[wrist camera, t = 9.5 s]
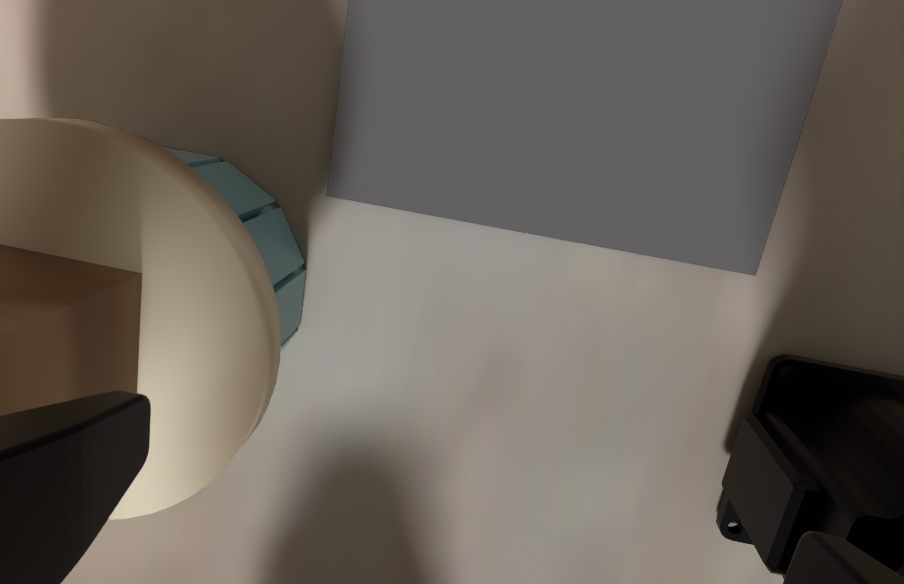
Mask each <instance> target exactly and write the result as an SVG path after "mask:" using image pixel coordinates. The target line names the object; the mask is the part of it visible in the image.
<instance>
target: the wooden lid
mask: <svg viewBox="0 0 904 584" xmlns="http://www.w3.org/2000/svg"><path fill="white" fill-rule="evenodd" d="M280 347H281V332H280V321H279V311H278V307H277V302H276V298H275V293H274V289H273V285H272V282H271V280H270V277H269V274H268V271H267V269H266V266H265V263H264V260H263V258H262V256H261V254H260V252H259V250H258V248H257V247H256V245H255V243H254V241H253V239H252V237H251V235H250V233H249V232H248V230H247V229H246V227H245V226H244V224H243V223H242V221H241V220H240V218H239V217H238V215H237V214H236V212H235V211H234V210H233V209H232V208H231V206H230V205H229V204H228V203H227V202H226V201H225V199H224V198H223V197H222V196H221V195H220V194H219V192H218V191H217V190H216V189H215V188H214V187H213V186H212V185H211V184H210V183H208V182H207V181H206V180H205V179H204V178H203V177H202V176H201V175H200V174H199V173H198V172H197V171H196V170H194V169H193V168H192V167H190V166H189V165H187V164H186V163H185V162H183V161H182V160H181V159H179V158H178V157H176V156H175V155H174V154H172V153H171V152H169V151H167V150H165V149H164V148H162V147H160V146H158V145H157V144H155V143H153V142H151V141H149V140H148V139H145V138H143V137H141V136H138V135H136V134H133V133H131V132H128V131H126V130H123V129H121V128H117V127H114V126H110V125H106V124H102V123H99V122H95V121H88V120H80V119H72V118H31V119H0V416H1V415H5V414H10V413H14V412H19V411H24V410H28V409H33V408H37V407H42V406H46V405H51V404H55V403H60V402H64V401H69V400H73V399H78V398H83V397H87V396H92V395H96V394H101V393H105V392H110V391H114V390H124V391H129V392H134V393H139V394H143V395H146V396H147V397H148V399H149V400H150V404H151V418H150V444H149V453H148V456H147V459H146V462H145V464H144V466H143V467H142V469H141V470H140V472H139V473H138V475H137V476H136V478H135V479H134V481H133V482H132V484H131V485H130V487H129V488H128V490H127V491H126V493H125V494H124V496H123V497H122V499H121V500H120V502H119V503H118V505H117V506H116V508H115V509H114V511H113V512H112V514H111V515H110V517H109V518H108V520H113V519H126V518H132V517H137V516H142V515H147V514H151V513H154V512H157V511H160V510H163V509H165V508H168V507H171V506H173V505H175V504H177V503H179V502H181V501H183V500H185V499H187V498H189V497H190V496H192V495H194V494H195V493H196V492H198V491H199V490H200V489H202V488H203V487H204V486H206V485H207V484H209V483H210V482H211V481H212V480H213V479H214V478H215V477H216V476H217V475H218V474H219V473H220V472H221V471H222V470H223V469H224V468H225V467H226V466H227V465H228V463H229V462H230V461H231V460H232V458H233V457H234V456H235V455H236V453H237V452H238V451H239V450H240V449H241V447H242V446H243V445H244V444H245V442H246V441H247V440H248V438H249V437H250V436H251V434H252V433H253V431H254V430H255V429H256V427H257V426H258V424H259V423H260V421H261V419H262V417H263V415H264V413H265V411H266V409H267V407H268V405H269V402H270V399H271V396H272V393H273V390H274V387H275V384H276V379H277V374H278V369H279V363H280Z"/></svg>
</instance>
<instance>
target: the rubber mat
mask: <svg viewBox="0 0 904 584" xmlns="http://www.w3.org/2000/svg"><path fill="white" fill-rule="evenodd" d="M842 1H843V0H349V2H348V11H347V19H346V28H345V37H344V46H343V55H342V64H341V72H340V81H339V90H338V99H337V108H336V117H335V125H334V134H333V143H332V152H331V161H330V170H329V178H328V187H327V196H330V197H335V198H341V199H346V200H351V201H357V202H362V203H368V204H373V205H378V206H384V207H389V208H394V209H400V210H405V211H411V212H416V213H421V214H427V215H432V216H437V217H443V218H448V219H454V220H459V221H464V222H470V223H475V224H481V225H486V226H491V227H497V228H502V229H507V230H513V231H518V232H524V233H529V234H534V235H540V236H545V237H550V238H556V239H561V240H567V241H572V242H577V243H583V244H588V245H593V246H599V247H604V248H610V249H615V250H620V251H626V252H631V253H636V254H642V255H647V256H653V257H658V258H663V259H669V260H674V261H679V262H685V263H690V264H696V265H701V266H706V267H712V268H717V269H722V270H728V271H733V272H739V273H744V274H749V275H755V276H756V273H757V270H758V267H759V263H760V260H761V257H762V254H763V251H764V248H765V244H766V241H767V238H768V235H769V232H770V229H771V225H772V222H773V219H774V216H775V213H776V210H777V206H778V203H779V200H780V197H781V194H782V191H783V187H784V184H785V181H786V178H787V175H788V172H789V168H790V165H791V162H792V159H793V156H794V153H795V149H796V146H797V143H798V140H799V137H800V134H801V130H802V127H803V124H804V121H805V118H806V115H807V111H808V108H809V105H810V102H811V99H812V96H813V92H814V89H815V86H816V83H817V80H818V77H819V73H820V70H821V67H822V64H823V61H824V58H825V54H826V51H827V48H828V45H829V42H830V39H831V35H832V32H833V29H834V26H835V23H836V20H837V16H838V13H839V10H840V7H841V4H842Z"/></svg>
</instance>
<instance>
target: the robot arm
mask: <svg viewBox="0 0 904 584" xmlns="http://www.w3.org/2000/svg"><path fill="white" fill-rule="evenodd" d="M786 367H792V372H791V373H790V375H788V376H786V377H780V372H781V371H782V369H784V368H786ZM150 418H151V404H150V400H149V399H148V397H147V396H146V395H143V394H139V393H134V392H129V391H124V390H114V391H110V392H105V393H101V394H96V395H92V396H87V397H83V398H78V399H73V400H69V401H64V402H60V403H55V404H51V405H46V406H42V407H37V408H33V409H28V410H24V411H19V412H14V413H10V414H5V415H1V416H0V584H60V583H61V582H62V581H63V580H64V579H65V577H66V576H67V575H68V574H69V573H70V571H71V570H72V569H73V568H74V566H75V565H76V564H77V563H78V561H79V560H80V559H81V557H82V556H83V555H84V553H85V552H86V551H87V549H88V548H89V546H90V545H91V544H92V542H93V541H94V539H95V538H96V536H97V535H98V533H99V532H100V530H101V529H102V527H103V526H104V524H105V523H106V521H107V520H108V518H109V517H110V515H111V514H112V512H113V511H114V509H115V508H116V506H117V505H118V503H119V502H120V500H121V499H122V497H123V496H124V494H125V493H126V491H127V490H128V488H129V487H130V485H131V484H132V482H133V481H134V479H135V478H136V476H137V475H138V473H139V472H140V470H141V469H142V467H143V466H144V464H145V462H146V459H147V456H148V453H149V444H150ZM722 486H723V488H724V490H725V494H724V497H723V500H722V503H721V506H720V509H719V512H718V515H717V519H716V523H717V525H718V528H719V530H720V532H721V534H722V535H723V536H724V537H725V538H727V539H729V540H732V541H737V542H742V543H747V544H752V545H754V546H755V548H756V550H757V552H758V553H759V555H760V557H761V559H762V561H763V563H764V564H765V566H766V567H767V569H768V570H769V571H770V572H771V573H774V574H778V575H782V576H783V578H784V582H783V584H904V377H903V376H898V375H892V374H887V373H882V372H877V371H872V370H866V369H861V368H856V367H851V366H845V365H840V364H835V363H830V362H825V361H819V360H814V359H809V358H804V357H798V356H793V355H779V356H776V357H775V358H773V359H772V360H771V361H770V362H769V364H768V366H767V369H766V372H765V375H764V377H763V380H762V383H761V386H760V389H759V392H758V395H757V398H756V401H755V404H754V407H753V410H752V413H750V414H749V415H747V416H746V417H745V418H743V420H742V423H741V426H740V429H739V432H738V435H737V438H736V441H735V444H734V447H733V450H732V453H731V456H730V459H729V462H728V465H727V468H726V471H725V474H724V477H723V480H722ZM732 521H740V522H739V523H738V525H736V526H734V527H729V526H728V525H729V523H730V522H732Z"/></svg>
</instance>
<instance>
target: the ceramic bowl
mask: <svg viewBox="0 0 904 584" xmlns="http://www.w3.org/2000/svg"><path fill="white" fill-rule="evenodd" d="M162 148H164V149H165V150H167V151H169V152H171V153H172V154H174V155H175V156H176V157H178V158H179V159H181V160H182V161H183V162H185V163H186V164H187V165H189V166H190V167H192V168H193V169H194V170H196V171H197V172H198V173H199V174H200V175H201V176H202V177H203V178H204V179H205V180H206V181H207V182H208V183H210V184H211V185H212V186H213V187H214V188H215V189H216V190H217V191H218V192H219V194H220V195H221V196H222V197H223V198H224V199H225V201H226V202H227V203H228V204H229V205H230V206H231V208H232V209H233V210H234V211H235V212H236V214H237V215H238V217H239V218H240V220H241V221H242V223H243V224H244V226H245V227H246V229H247V230H248V232H249V233H250V235H251V237H252V239H253V241H254V243H255V245H256V247H257V248H258V250H259V252H260V254H261V256H262V258H263V260H264V263H265V266H266V269H267V271H268V274H269V277H270V280H271V282H272V285H273V289H274V293H275V298H276V302H277V307H278V311H279V321H280V332H281V347H280V352H281V351H282V349H283V348H284V347H285V346H286V345H287V343H288V342H289V341H290V340H291V338H292V337H293V336H294V335H295V333H296V332H297V331H298V330H296V328H297V327H298V326H299V325H300V322H301V312H302V303H303V294H304V284H305V275H306V270H305V269H302V264H304V263H305V261H304V259H303V257H302V254H301V252H300V250H299V247H298V245H297V243H296V241H295V238H294V236H293V234H292V231H291V229H290V227H289V224H288V222H287V220H286V217H285V215H284V213H283V210H282V208H281V207H279V208H277V206H276V205H275V204H274V203H275V202H276V200H275V199H274V198H273V197H271V196H270V195H269V194H268V193H266V192H265V191H264V190H263V189H262V188H260V187H259V186H258V185H257V184H255V183H254V182H253V181H252V180H251V179H249V178H248V177H247V176H246V175H244V174H243V173H242V172H241V171H240V170H238V169H237V168H236V167H235V166H233V165H232V164H231V163H230V162H228V161H224V162H221V158H220V157H215V156H209V155H204V154H199V153H193V152H188V151H182V150H177V149H171V148H166V147H162Z"/></svg>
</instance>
